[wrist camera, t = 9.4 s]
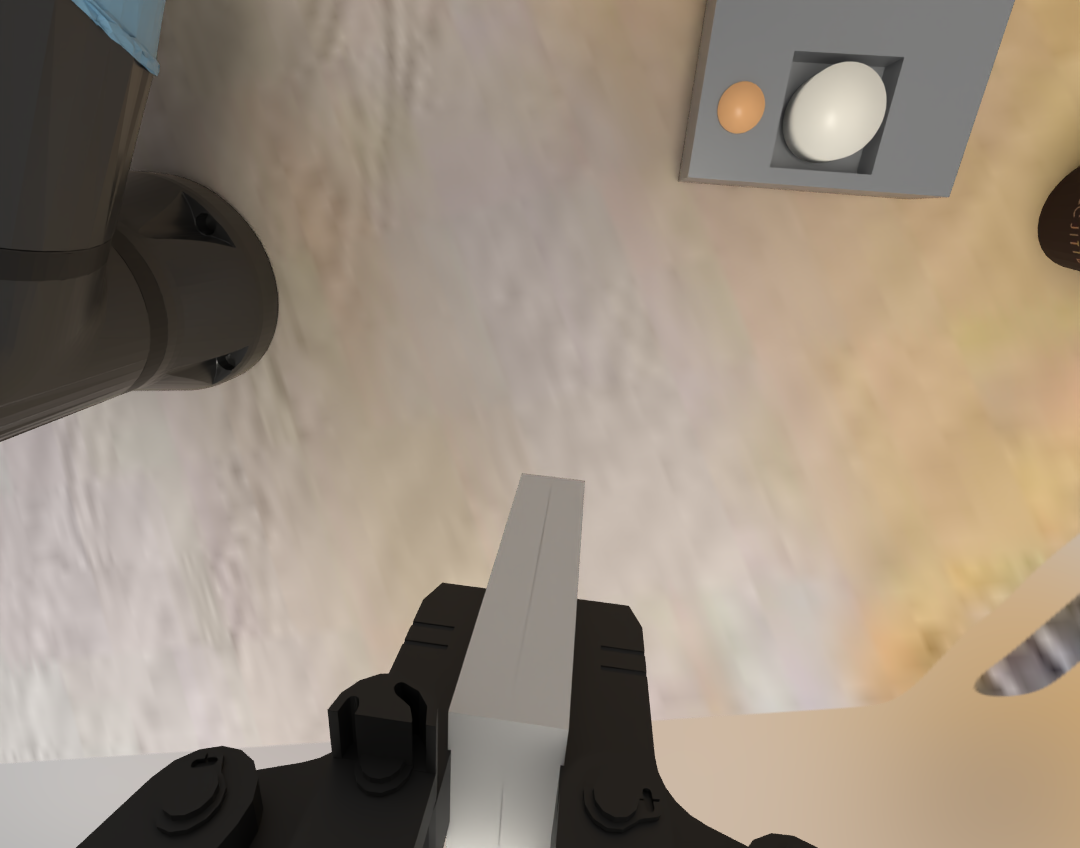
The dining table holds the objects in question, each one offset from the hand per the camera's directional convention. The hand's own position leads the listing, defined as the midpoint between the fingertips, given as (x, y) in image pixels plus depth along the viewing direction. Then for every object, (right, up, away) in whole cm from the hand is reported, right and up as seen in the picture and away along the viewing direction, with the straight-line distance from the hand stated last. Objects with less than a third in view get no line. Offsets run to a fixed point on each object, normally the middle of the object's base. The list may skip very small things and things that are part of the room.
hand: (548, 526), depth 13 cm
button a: (+15, +19, +16) cm, 30 cm away
